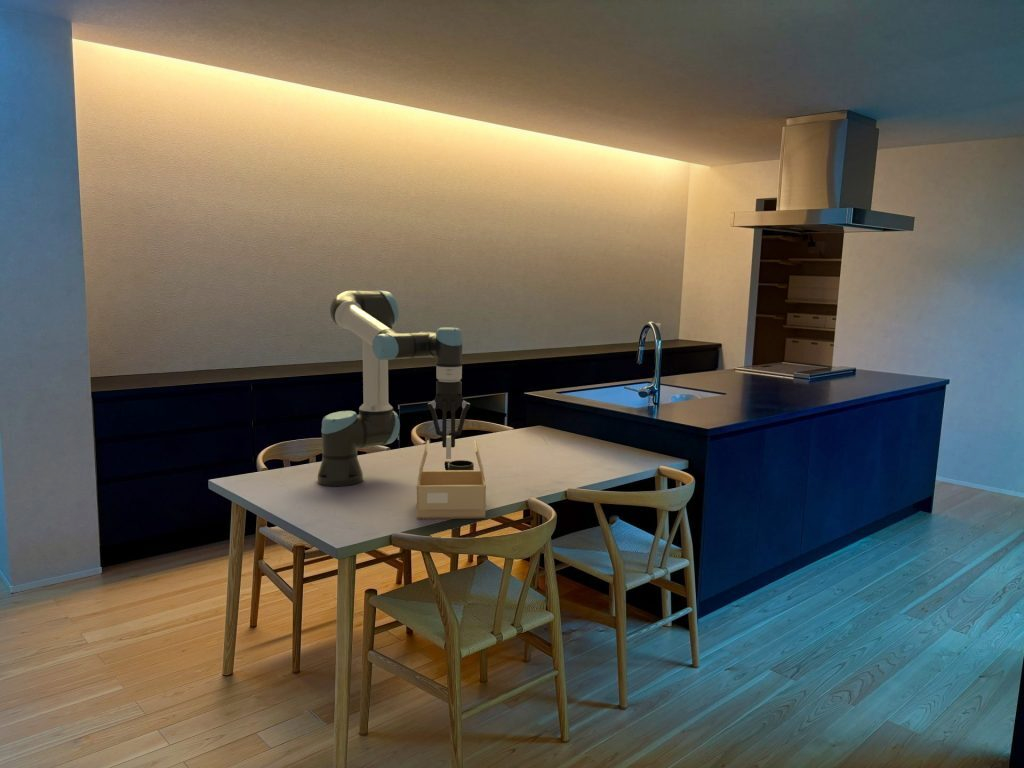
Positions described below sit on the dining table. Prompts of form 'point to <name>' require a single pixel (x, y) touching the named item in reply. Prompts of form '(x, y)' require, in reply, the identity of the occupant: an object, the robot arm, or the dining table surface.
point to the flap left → (423, 460)
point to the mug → (459, 465)
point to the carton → (451, 494)
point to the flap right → (479, 460)
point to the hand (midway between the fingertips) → (448, 457)
